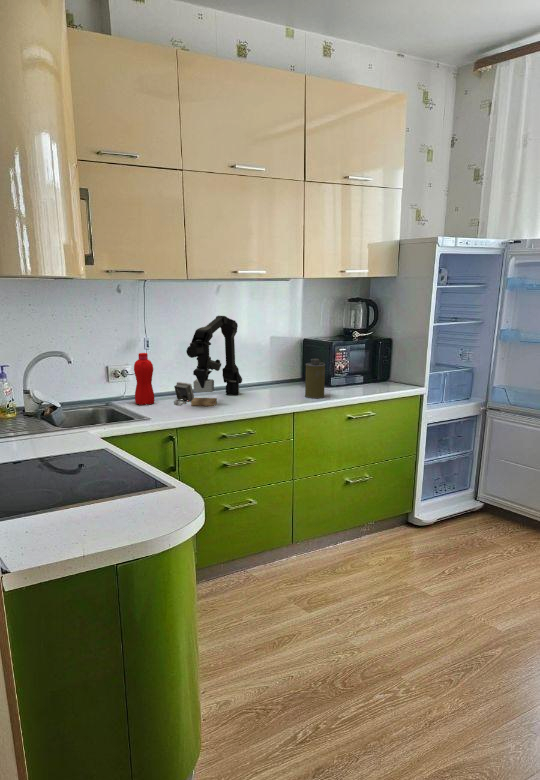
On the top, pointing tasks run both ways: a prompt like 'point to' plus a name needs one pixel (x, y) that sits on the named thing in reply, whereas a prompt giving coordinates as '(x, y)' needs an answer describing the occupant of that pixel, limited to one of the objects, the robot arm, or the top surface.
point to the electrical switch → (184, 391)
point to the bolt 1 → (177, 403)
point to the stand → (203, 401)
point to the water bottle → (144, 380)
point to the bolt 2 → (181, 402)
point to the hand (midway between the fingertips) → (204, 386)
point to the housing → (204, 386)
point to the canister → (315, 379)
